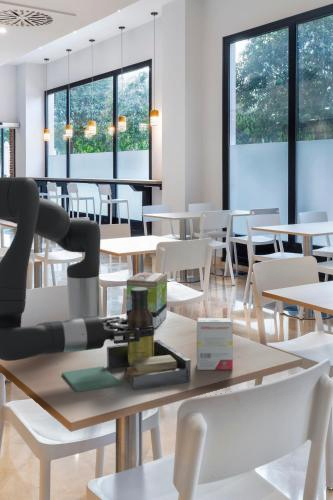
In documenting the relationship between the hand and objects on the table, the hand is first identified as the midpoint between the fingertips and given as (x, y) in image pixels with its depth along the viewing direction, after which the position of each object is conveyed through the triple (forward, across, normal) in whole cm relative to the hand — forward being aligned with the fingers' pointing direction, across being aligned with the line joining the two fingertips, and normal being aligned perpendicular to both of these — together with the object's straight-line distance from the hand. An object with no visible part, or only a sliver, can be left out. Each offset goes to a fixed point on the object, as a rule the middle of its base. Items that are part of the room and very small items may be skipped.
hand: (146, 326), depth 142 cm
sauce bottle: (-2, 0, +11) cm, 11 cm away
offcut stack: (-2, -8, +10) cm, 13 cm away
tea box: (+17, +42, +11) cm, 46 cm away
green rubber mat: (-15, -2, +10) cm, 18 cm away
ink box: (+15, -6, +11) cm, 20 cm away
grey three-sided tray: (-2, -4, +10) cm, 11 cm away
